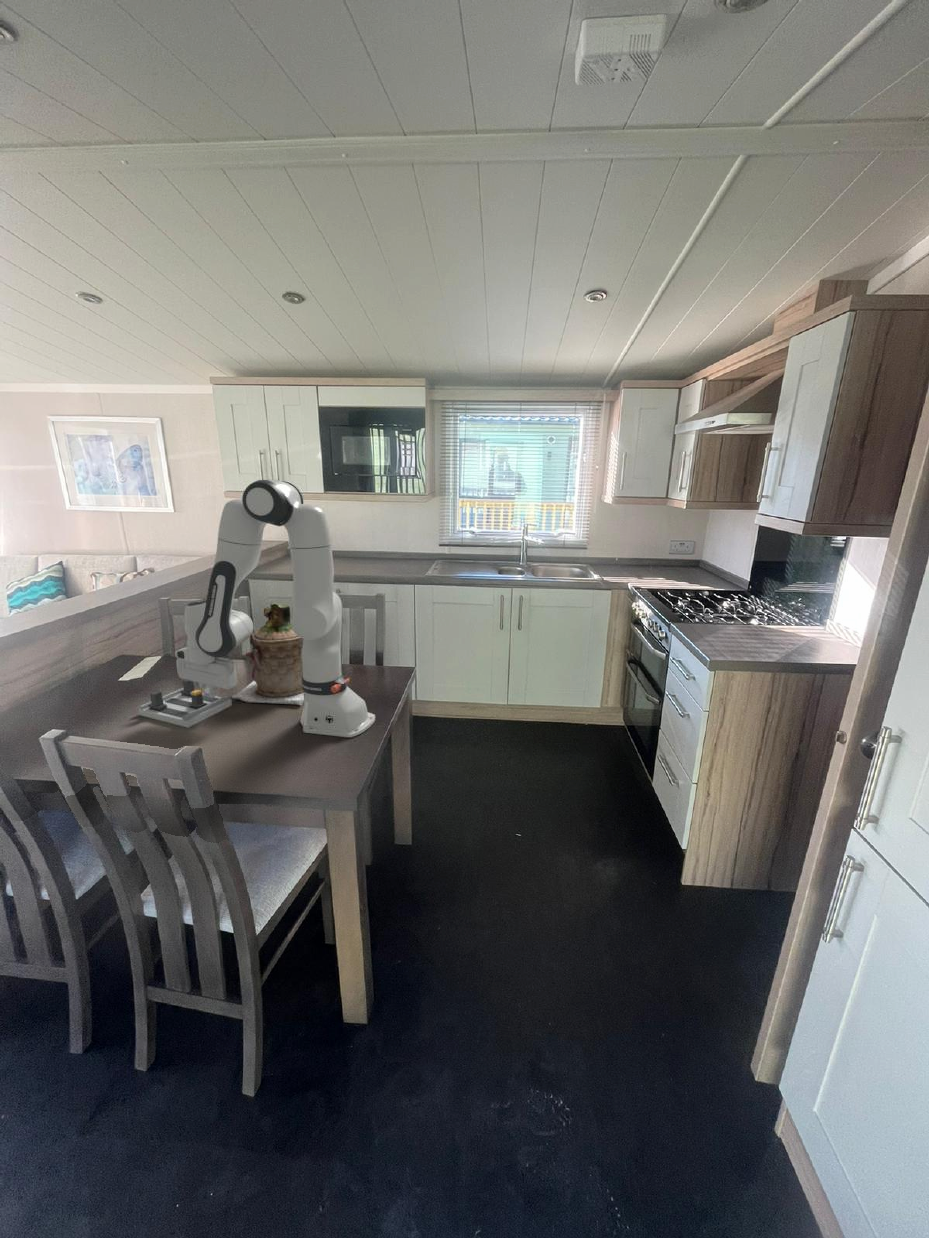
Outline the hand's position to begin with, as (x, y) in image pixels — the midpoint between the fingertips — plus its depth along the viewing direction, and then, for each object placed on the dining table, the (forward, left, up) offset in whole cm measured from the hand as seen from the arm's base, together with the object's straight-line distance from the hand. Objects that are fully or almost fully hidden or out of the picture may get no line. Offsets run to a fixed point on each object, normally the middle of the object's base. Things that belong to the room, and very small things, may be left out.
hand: (209, 696), depth 142 cm
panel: (+11, 0, -7) cm, 13 cm away
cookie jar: (-6, -25, -7) cm, 26 cm away
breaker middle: (+6, 0, -4) cm, 7 cm away
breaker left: (+16, +5, -4) cm, 17 cm away
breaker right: (+16, -6, -4) cm, 17 cm away
